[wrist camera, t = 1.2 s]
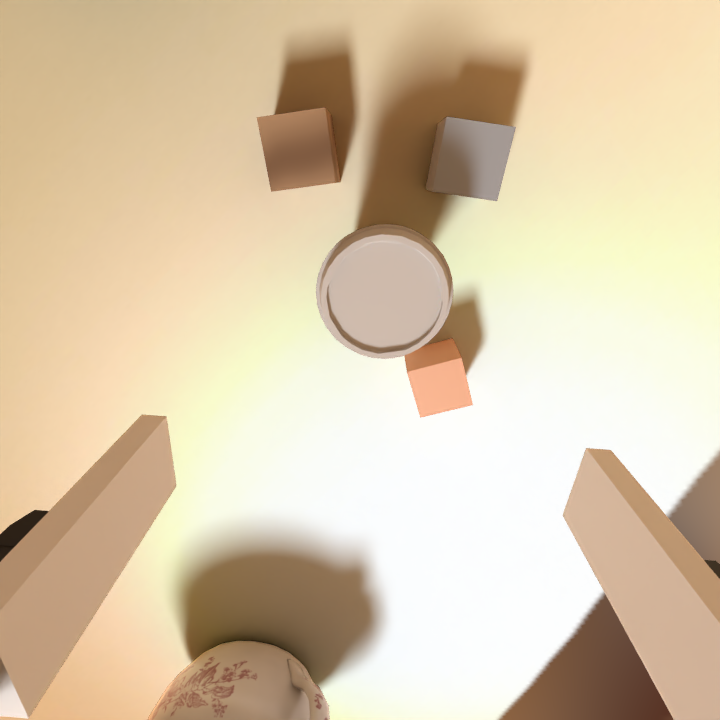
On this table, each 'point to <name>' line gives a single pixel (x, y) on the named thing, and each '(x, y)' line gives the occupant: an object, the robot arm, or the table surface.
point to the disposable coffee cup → (384, 291)
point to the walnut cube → (299, 149)
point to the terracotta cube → (438, 378)
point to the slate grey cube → (469, 158)
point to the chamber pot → (243, 687)
